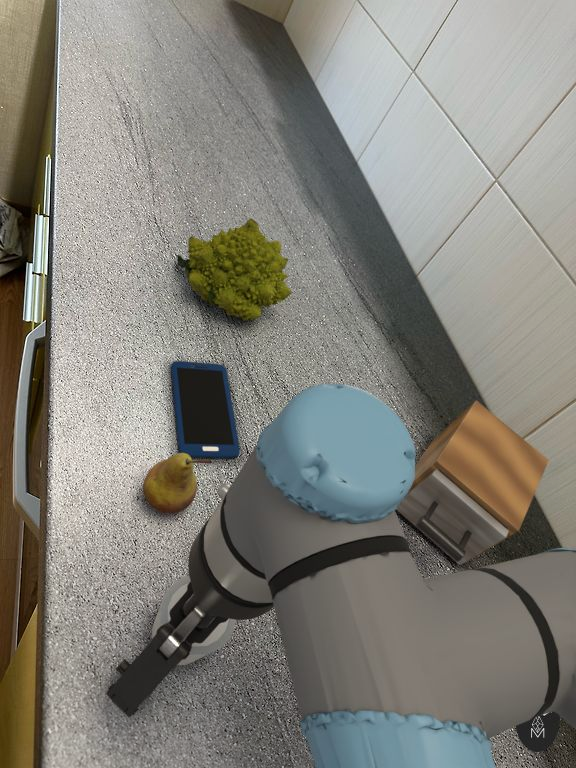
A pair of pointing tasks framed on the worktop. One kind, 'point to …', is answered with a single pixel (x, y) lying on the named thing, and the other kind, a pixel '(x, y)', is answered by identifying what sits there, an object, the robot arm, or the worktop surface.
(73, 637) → the worktop surface
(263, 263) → the vegetable
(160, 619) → the white cup
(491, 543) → the drawer
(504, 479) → the cabinet
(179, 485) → the fruit
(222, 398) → the cell phone
